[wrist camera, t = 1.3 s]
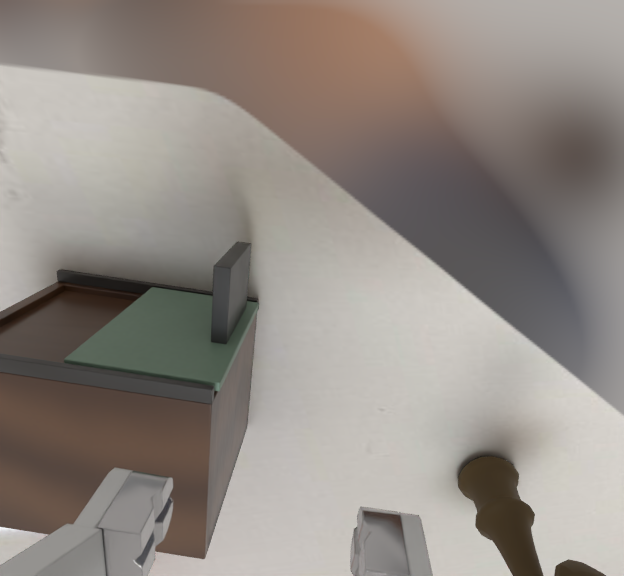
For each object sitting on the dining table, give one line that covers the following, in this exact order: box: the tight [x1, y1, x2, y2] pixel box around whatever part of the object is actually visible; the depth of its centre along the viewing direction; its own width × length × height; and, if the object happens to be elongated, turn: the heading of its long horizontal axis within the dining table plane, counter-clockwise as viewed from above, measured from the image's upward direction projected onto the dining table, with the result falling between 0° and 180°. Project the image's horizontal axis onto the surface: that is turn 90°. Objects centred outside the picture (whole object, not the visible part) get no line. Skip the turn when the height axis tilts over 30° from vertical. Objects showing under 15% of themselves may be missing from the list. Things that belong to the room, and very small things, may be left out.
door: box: [64, 242, 259, 391], centre depth 25 cm, size 6×8×11 cm, turn 83°
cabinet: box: [0, 270, 258, 559], centre depth 28 cm, size 13×16×12 cm
